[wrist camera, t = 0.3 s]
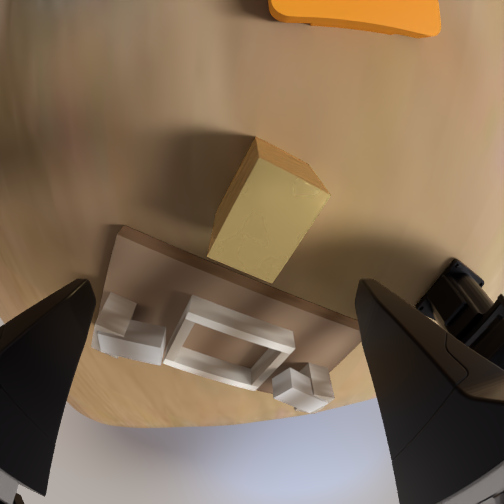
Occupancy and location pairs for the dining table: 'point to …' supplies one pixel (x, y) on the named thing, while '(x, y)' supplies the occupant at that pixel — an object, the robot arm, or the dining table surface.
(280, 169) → the tan rectangular block
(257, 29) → the dining table surface
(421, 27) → the bracket
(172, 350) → the coupling base
